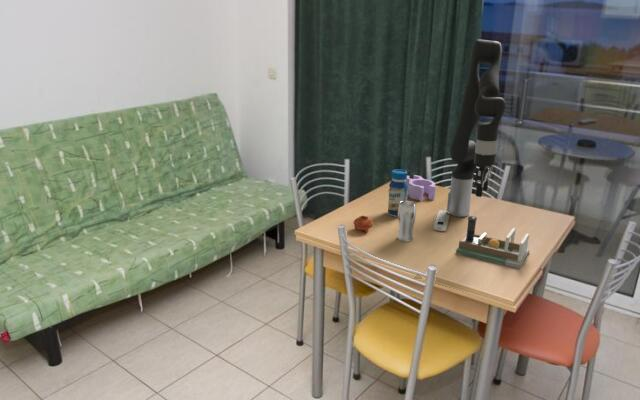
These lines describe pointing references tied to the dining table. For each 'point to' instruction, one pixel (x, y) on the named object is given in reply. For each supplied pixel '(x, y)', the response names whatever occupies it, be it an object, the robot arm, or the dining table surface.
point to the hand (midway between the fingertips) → (481, 193)
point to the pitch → (498, 250)
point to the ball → (493, 243)
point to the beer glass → (406, 220)
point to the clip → (420, 188)
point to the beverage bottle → (397, 191)
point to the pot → (363, 223)
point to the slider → (471, 232)
